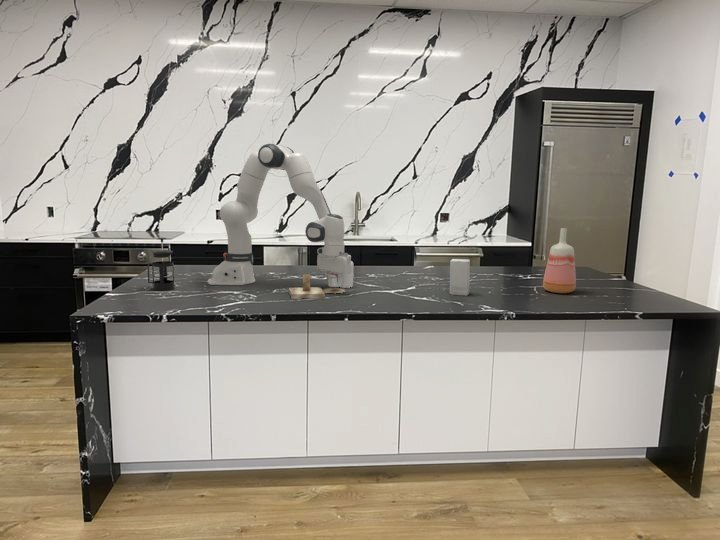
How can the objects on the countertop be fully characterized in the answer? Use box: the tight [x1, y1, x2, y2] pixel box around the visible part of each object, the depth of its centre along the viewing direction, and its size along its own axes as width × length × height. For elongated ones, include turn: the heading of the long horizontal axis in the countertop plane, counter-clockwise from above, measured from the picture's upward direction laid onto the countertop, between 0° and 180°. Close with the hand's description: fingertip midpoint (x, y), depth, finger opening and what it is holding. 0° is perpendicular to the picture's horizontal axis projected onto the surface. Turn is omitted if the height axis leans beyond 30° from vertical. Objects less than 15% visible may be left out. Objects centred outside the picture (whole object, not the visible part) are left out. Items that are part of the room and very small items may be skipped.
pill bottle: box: [338, 254, 354, 289], centre depth 258 cm, size 8×8×15 cm
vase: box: [542, 227, 577, 294], centre depth 254 cm, size 14×14×30 cm
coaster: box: [322, 287, 346, 295], centre depth 247 cm, size 10×10×1 cm
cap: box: [327, 272, 341, 288], centre depth 246 cm, size 6×6×6 cm
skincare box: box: [449, 258, 471, 296], centre depth 245 cm, size 8×7×16 cm
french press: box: [147, 237, 176, 292], centre depth 244 cm, size 12×9×23 cm
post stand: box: [288, 273, 326, 300], centre depth 238 cm, size 14×14×9 cm
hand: (334, 281), depth 246 cm, fingers closed on cap, 6 cm apart
